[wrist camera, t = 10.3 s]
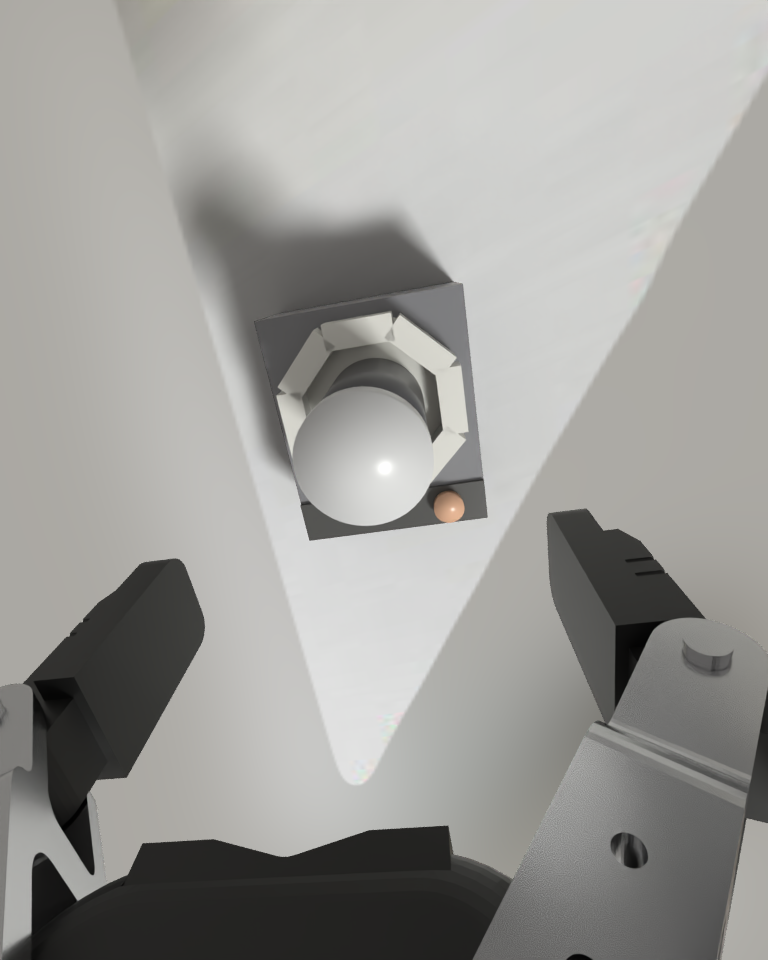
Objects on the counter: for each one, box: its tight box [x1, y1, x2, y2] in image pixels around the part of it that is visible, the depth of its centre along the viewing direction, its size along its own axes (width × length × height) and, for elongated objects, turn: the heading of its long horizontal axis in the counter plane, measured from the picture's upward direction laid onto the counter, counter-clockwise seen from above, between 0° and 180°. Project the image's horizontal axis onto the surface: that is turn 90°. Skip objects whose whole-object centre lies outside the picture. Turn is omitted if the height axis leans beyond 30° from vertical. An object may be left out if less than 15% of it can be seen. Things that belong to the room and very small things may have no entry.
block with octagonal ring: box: [254, 282, 488, 541], centre depth 27 cm, size 12×10×6 cm
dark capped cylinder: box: [292, 358, 434, 526], centre depth 21 cm, size 5×5×8 cm
